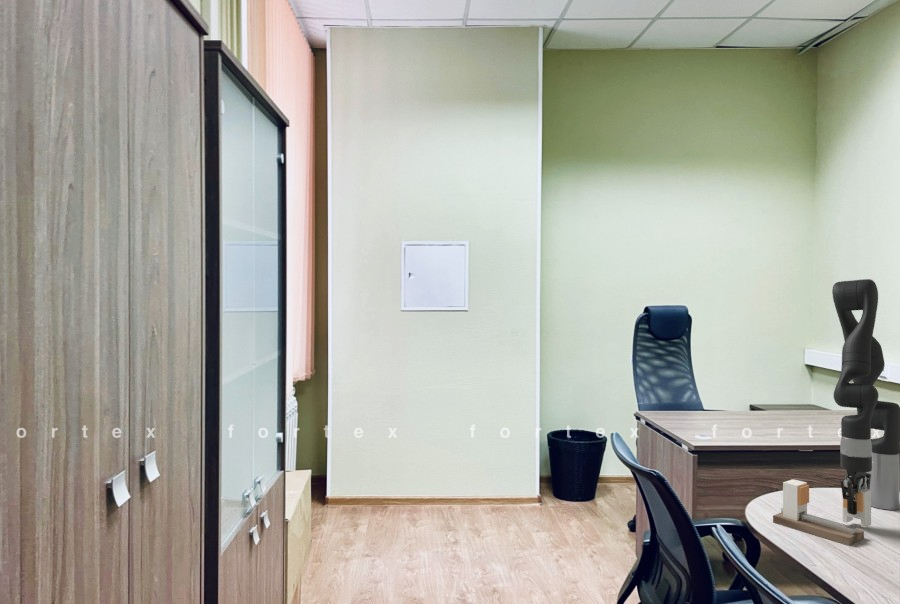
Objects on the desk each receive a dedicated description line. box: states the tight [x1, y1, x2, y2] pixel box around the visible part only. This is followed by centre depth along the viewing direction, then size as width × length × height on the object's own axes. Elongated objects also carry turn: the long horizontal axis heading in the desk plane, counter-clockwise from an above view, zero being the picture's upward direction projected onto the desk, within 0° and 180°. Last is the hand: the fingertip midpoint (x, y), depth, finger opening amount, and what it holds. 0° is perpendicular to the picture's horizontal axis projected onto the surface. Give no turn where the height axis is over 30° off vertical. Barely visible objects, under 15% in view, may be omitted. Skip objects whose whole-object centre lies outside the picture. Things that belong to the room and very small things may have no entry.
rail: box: [772, 478, 865, 547], centre depth 169 cm, size 9×20×12 cm, turn 34°
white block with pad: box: [842, 488, 872, 528], centre depth 171 cm, size 6×5×10 cm
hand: (856, 511), depth 171 cm, fingers closed on white block with pad, 4 cm apart
